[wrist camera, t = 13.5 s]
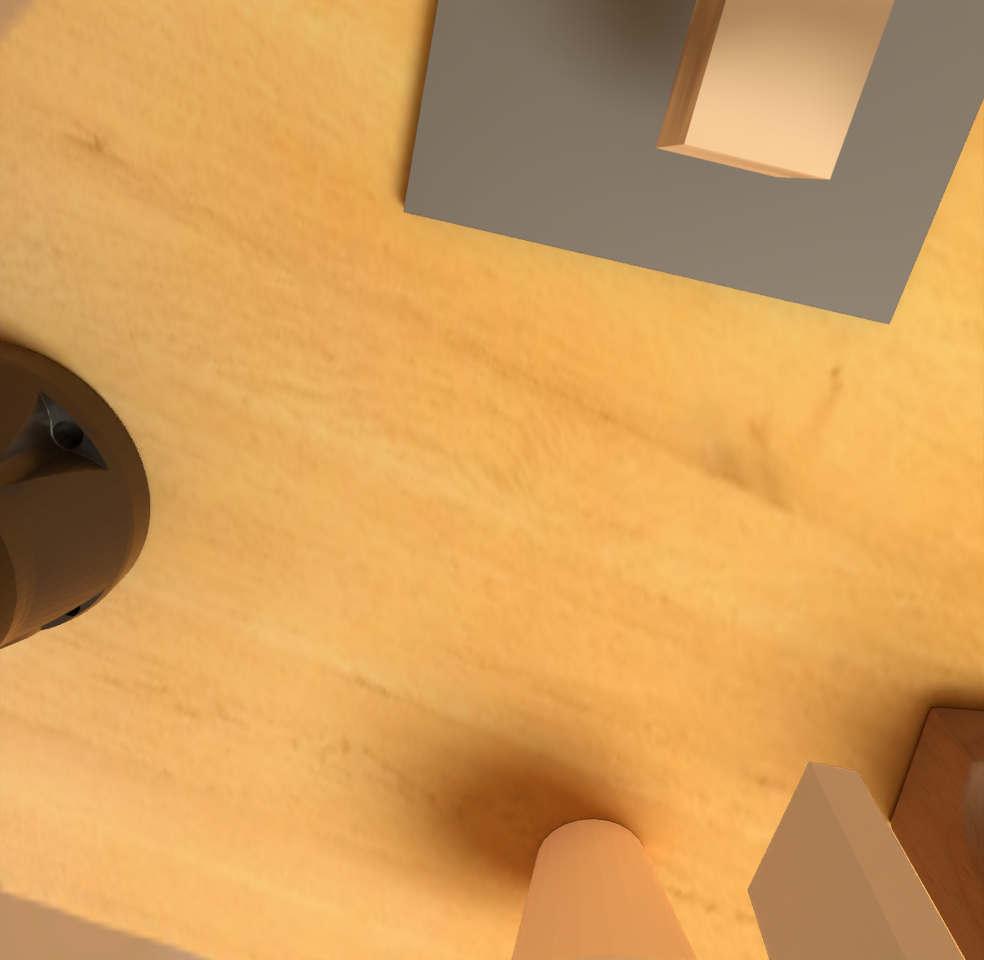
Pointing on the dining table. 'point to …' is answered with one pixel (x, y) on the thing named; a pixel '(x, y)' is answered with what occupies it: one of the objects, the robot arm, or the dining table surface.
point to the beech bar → (772, 82)
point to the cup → (597, 900)
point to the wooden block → (948, 821)
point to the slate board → (680, 178)
